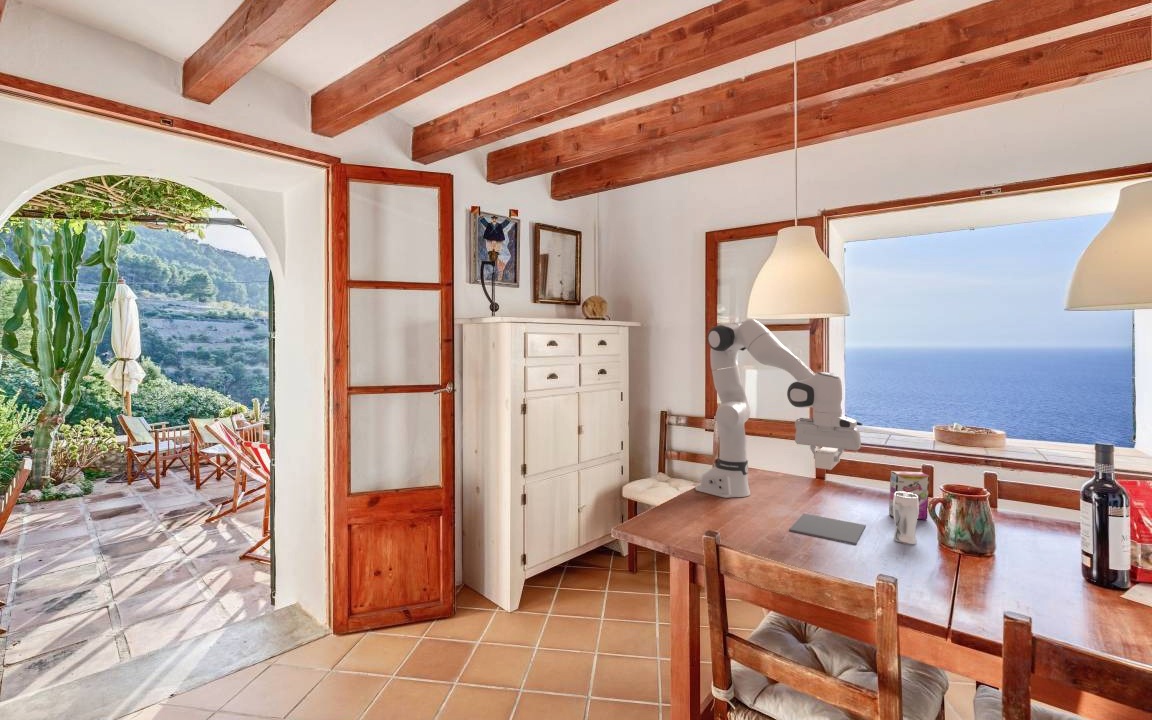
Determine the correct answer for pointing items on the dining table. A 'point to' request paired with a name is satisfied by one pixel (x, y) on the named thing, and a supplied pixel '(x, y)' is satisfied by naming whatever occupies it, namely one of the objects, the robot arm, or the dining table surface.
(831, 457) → the white block
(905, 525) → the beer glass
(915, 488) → the candy bar box
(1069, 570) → the dining table surface
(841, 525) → the rubber mat
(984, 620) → the dining table surface
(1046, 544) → the dining table surface
